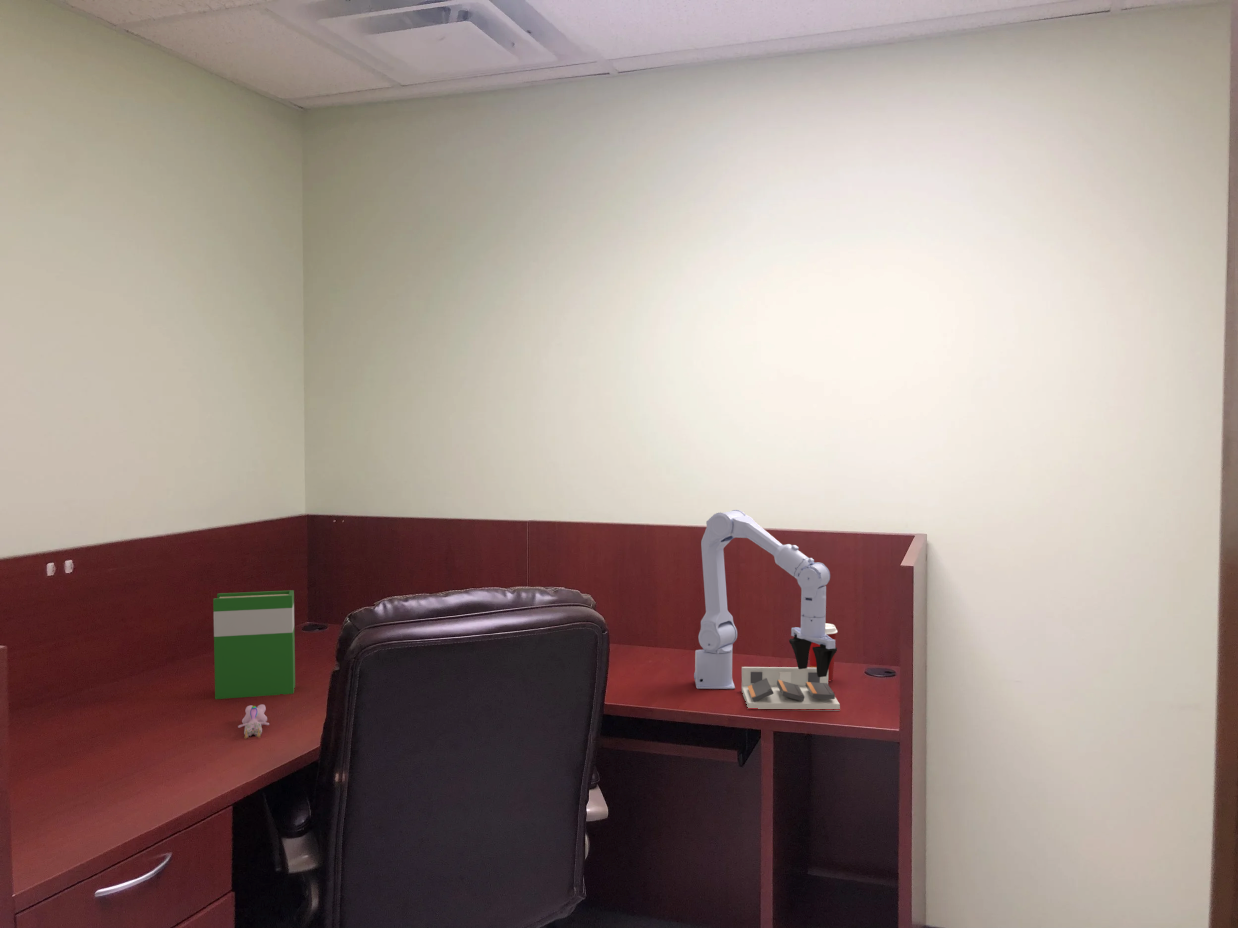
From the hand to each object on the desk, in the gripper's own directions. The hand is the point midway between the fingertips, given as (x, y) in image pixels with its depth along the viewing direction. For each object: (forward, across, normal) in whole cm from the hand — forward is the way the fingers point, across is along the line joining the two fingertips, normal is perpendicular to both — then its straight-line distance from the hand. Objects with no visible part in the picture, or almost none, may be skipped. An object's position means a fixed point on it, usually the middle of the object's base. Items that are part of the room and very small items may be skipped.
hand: (812, 672), depth 228 cm
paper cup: (+7, -15, +14) cm, 22 cm away
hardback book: (+8, -64, -118) cm, 134 cm away
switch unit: (+7, -3, -4) cm, 9 cm away
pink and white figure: (+8, -35, -121) cm, 126 cm away
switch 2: (+4, -2, -5) cm, 7 cm away
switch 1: (+4, -5, -11) cm, 13 cm away
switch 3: (+4, +1, +2) cm, 5 cm away
